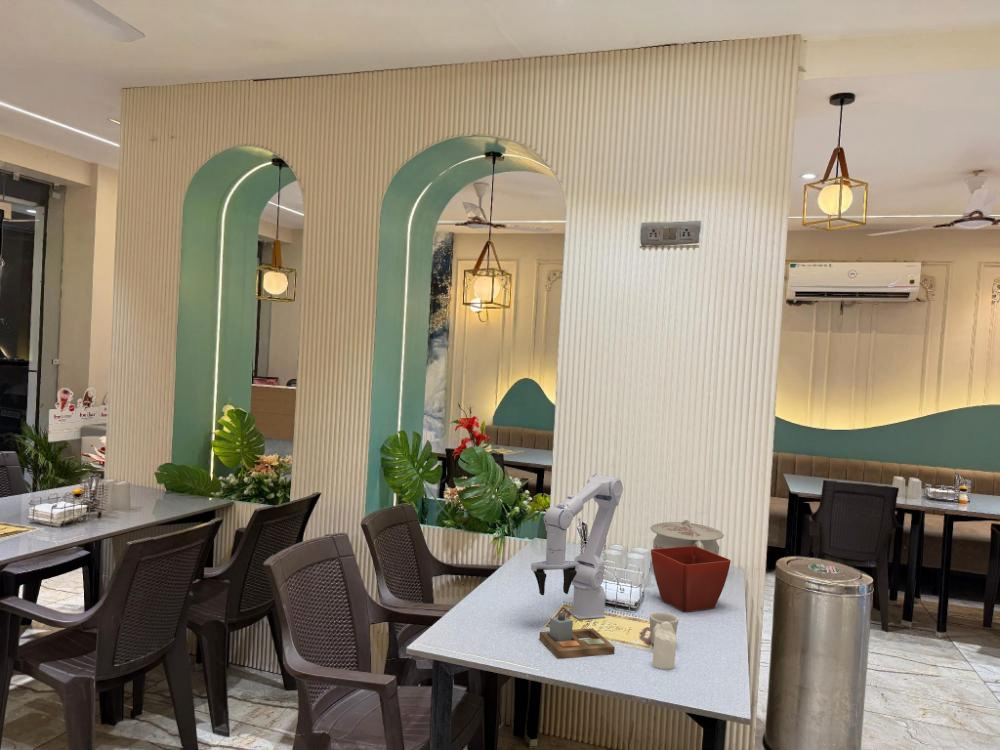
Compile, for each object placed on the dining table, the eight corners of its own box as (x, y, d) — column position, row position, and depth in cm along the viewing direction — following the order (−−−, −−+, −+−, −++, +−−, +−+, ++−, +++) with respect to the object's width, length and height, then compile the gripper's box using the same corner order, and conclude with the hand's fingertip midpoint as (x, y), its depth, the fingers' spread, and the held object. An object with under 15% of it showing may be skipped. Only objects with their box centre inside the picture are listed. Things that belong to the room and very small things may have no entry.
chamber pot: (665, 560, 304) (667, 509, 304) (731, 574, 288) (734, 520, 288) (635, 574, 281) (638, 519, 281) (705, 590, 265) (708, 532, 265)
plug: (561, 640, 212) (563, 610, 212) (571, 645, 208) (573, 615, 208) (549, 642, 209) (550, 612, 209) (558, 648, 206) (560, 617, 205)
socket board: (592, 635, 217) (593, 626, 217) (614, 653, 203) (614, 644, 203) (539, 639, 212) (539, 630, 211) (558, 658, 198) (558, 649, 198)
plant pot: (682, 617, 236) (685, 564, 236) (646, 598, 253) (649, 548, 253) (729, 611, 244) (732, 560, 243) (692, 593, 261) (694, 545, 261)
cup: (667, 655, 204) (669, 627, 204) (640, 648, 208) (641, 620, 208) (680, 644, 213) (682, 616, 213) (653, 637, 217) (655, 610, 217)
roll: (669, 615, 201) (682, 623, 196) (666, 659, 201) (679, 668, 196) (650, 618, 198) (663, 625, 193) (648, 662, 199) (660, 671, 193)
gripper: (573, 544, 227) (570, 588, 228) (528, 545, 223) (526, 590, 223) (582, 550, 221) (580, 595, 221) (536, 551, 216) (534, 598, 216)
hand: (553, 593), depth 222 cm, fingers open, 7 cm apart
